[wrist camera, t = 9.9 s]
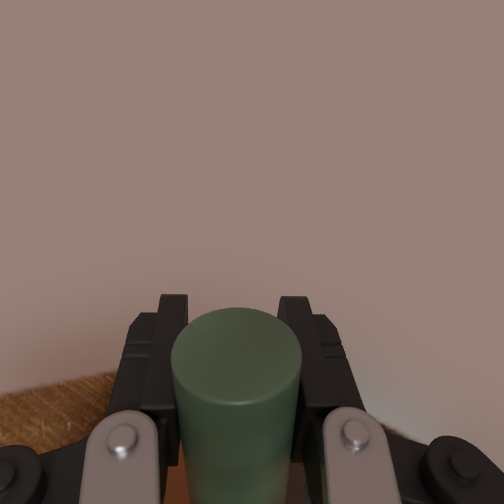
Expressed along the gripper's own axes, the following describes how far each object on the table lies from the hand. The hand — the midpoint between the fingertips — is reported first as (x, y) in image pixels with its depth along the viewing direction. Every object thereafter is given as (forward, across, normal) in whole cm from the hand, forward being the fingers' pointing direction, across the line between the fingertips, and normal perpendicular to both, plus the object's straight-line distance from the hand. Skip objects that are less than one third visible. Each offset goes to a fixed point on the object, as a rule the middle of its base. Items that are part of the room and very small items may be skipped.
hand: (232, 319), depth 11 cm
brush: (-3, -1, +10) cm, 11 cm away
